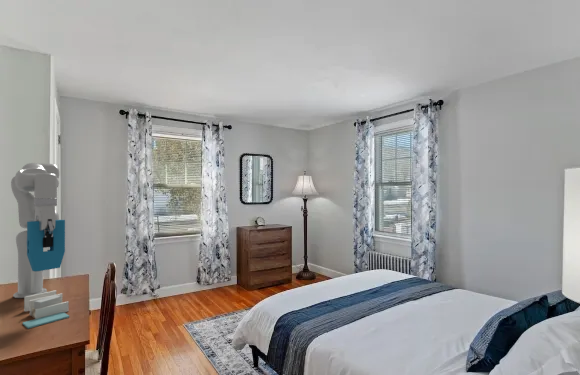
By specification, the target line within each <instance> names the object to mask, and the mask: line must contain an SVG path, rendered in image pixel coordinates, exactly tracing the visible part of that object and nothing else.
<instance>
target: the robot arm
mask: <svg viewBox="0 0 580 375" xmlns="http://www.w3.org/2000/svg"><path fill="white" fill-rule="evenodd" d="M59 178H60V169H59V167H58V165H56V164H54V163H44V162H42V163H41V162H31V163H30V162H29V163H26V164H24V165H23V166H22V167H21V169H20V170H18V171H17V172H16V173H15V176H13V177H12V179H11V181H10V188H11V191H12V192H11V193H12V194H13V196H14V198H15V200H16V202H17V207H18V209H17V210H18V212H17V213H18V224H19V226H20V227H21V229H26V230H23V231H20V232H19V233H18V234H16V237H15V243H16V248H17V291H16V292H15V293H13V295H12V296H13V298H15V299H24V297H26V296H31V295H35V294H40V293H45V292H48V290H47V288H45V287H44V270H43V271H36V272H35V271H32V268H31V265H30V262H29V259H28V257H27V222H30V221H39V230H40V231H42V230H43V229H44V238H43V249H47V248H48V249H50V247H52V246H53V230H54V229H55V220H60V216H59V214H58V211H57V210H56V208H55V207H58V188H59V184H60V181H59ZM31 192H32V193H31ZM33 193H34V194H33ZM47 228H48V229H49V230H45V229H47ZM46 232H47V233H46Z"/></svg>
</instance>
